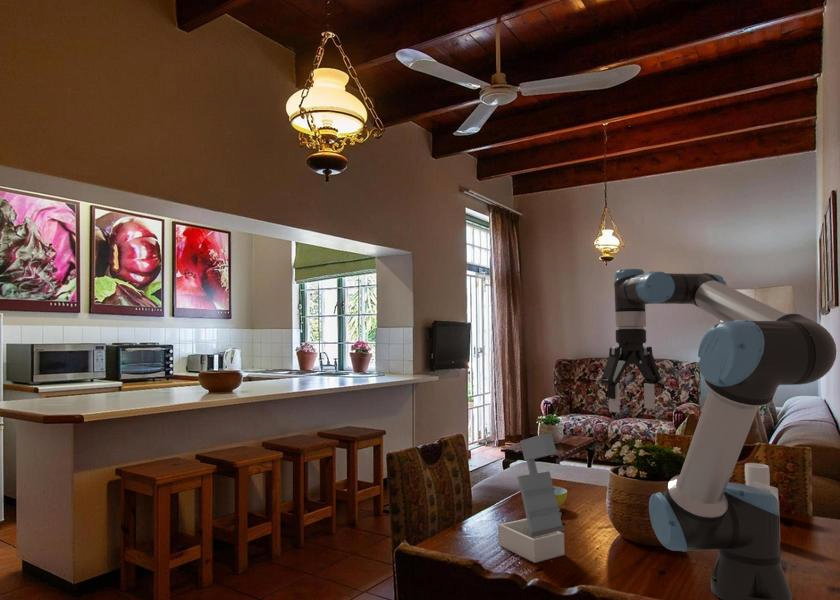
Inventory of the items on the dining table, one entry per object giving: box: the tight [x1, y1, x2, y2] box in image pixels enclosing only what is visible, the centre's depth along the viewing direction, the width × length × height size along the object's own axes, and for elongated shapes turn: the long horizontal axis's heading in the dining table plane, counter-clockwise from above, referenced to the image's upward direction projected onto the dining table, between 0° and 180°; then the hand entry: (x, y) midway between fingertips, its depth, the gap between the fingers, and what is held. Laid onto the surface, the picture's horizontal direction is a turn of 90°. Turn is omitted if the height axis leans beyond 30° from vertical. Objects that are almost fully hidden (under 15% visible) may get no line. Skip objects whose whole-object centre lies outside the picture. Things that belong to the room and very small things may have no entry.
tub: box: [497, 517, 565, 563], centre depth 148 cm, size 14×10×6 cm
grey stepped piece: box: [517, 432, 566, 537], centre depth 144 cm, size 23×11×9 cm
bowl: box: [553, 485, 568, 508], centre depth 185 cm, size 11×12×6 cm
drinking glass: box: [744, 462, 771, 492], centre depth 181 cm, size 7×7×15 cm
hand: (632, 410), depth 148 cm, fingers open, 13 cm apart
